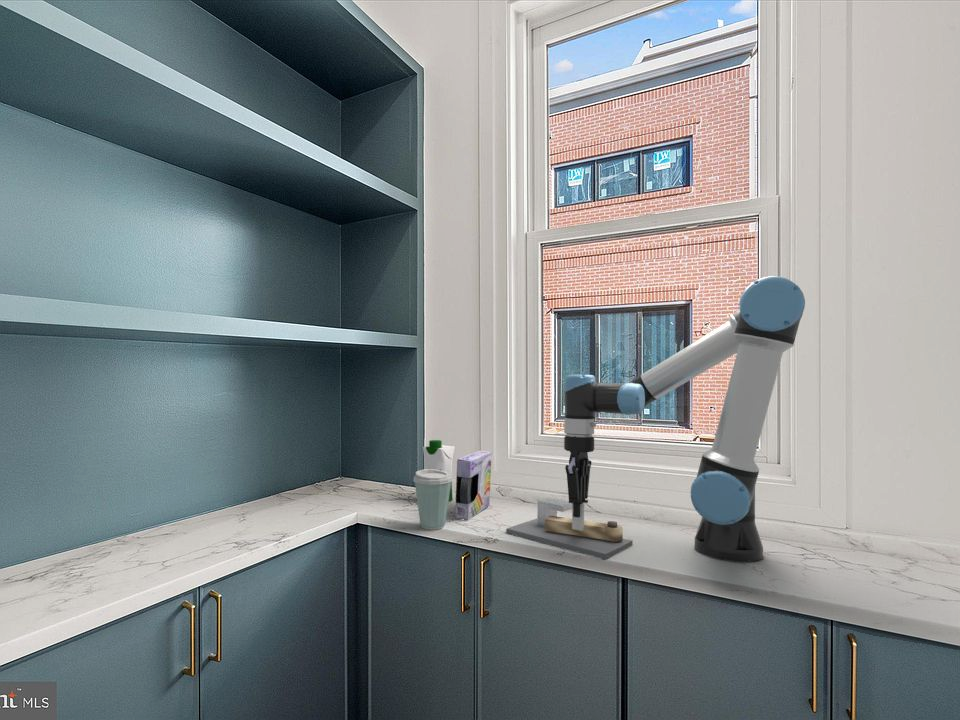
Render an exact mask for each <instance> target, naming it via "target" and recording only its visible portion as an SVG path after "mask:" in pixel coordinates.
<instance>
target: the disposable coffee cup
mask: <svg viewBox="0 0 960 720" xmlns="http://www.w3.org/2000/svg"><path fill="white" fill-rule="evenodd" d="M412 481H413V482H414V487H415V493H416V494H415V495H416V501H417V502H416V503H417V508H418V509H417V510H418V517H419V522H420V523H419V524H420V526H421V528H422V529H424V530H428V531H436V530H441V529H443V528H444V527H445V525H446V522H447V515H448V507H449V506H448V505H449V502H448V501H449V494H450V487H451V481H452V482H453V476H452V477H451V476H450V475H449V473H448V472H445V471H441V470H435V469H419V470H417V471H415V475H414V476H413V480H412ZM442 527H443V528H442Z"/></svg>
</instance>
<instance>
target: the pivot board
mask: <svg viewBox="0 0 960 720" xmlns="http://www.w3.org/2000/svg"><path fill="white" fill-rule="evenodd" d="M505 531H506V532H505V533H506V534H508V533H509V535H512V534H513V536H516V535H517V536H516V537H519V536H520V538H523V537H524V538H523V539H527V538H528V540H531V539H532V540H531V541H534V540H536V542H538V541H539V542H540V543H543V544H546V543H547V545H550V546H553V547H558V548H562V549H564V550H569V551H572V552H576V553H581V554H585V555H588V556H591V557H595V558H599V559H603V560H607V559H609V558H611V557H613V556H615V555H617V554H618V553H620V552H623V551H624V550H627V549H629V548H631V547H632V546H633V545H634V544H633V542H634V541H633V540H631V539H626V538H623V540H622V541H619V542H611V541H606V540H602V539H596V538H589V537H583V536H576V535H570V534H563V533H557V532H550V531H545V527H543V526H539V525H537V518H534V519H531V520H528V521H525V522H522V523H519V524H516V525H513V526H509V527H507V528H506V530H505Z"/></svg>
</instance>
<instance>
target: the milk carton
mask: <svg viewBox="0 0 960 720" xmlns="http://www.w3.org/2000/svg"><path fill="white" fill-rule="evenodd" d="M455 448H456V446H453V445H451V446H450V445H443V443H442V440H439V439H438V440H437V439H431V440H429V443H428V445H425V446H422V450H423V456H424V459H423V460H424V462H423V463H424V465H423V466H424V469H435V470H441V471H445V472H448V473H449V475H450V476H451V477H452V478H453V458H454V452H455ZM424 469H423V470H424ZM450 502H453V480H452V481H451V487H450V494H449V501H448V503H450Z"/></svg>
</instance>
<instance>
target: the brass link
mask: <svg viewBox="0 0 960 720" xmlns="http://www.w3.org/2000/svg"><path fill="white" fill-rule="evenodd" d="M623 529H624V527H623V526H622V525H620V524H618V522H617V521H613V520H610V521H607V522H606V523H604V522H599V521H598V522H597V521H590V520H585V519H584V530H583V531H581V530H575V529H572V517H570V518H569V517H563V516H557V517H556V516H549V517H547V518H546V519H545V531H550V532H557V533H563V534H570V535H576V536H583V537H589V538H596V539H602V540H606V541H611V542H619V541H622V540H623V539H624V538H623V535H624V533H623Z"/></svg>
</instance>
